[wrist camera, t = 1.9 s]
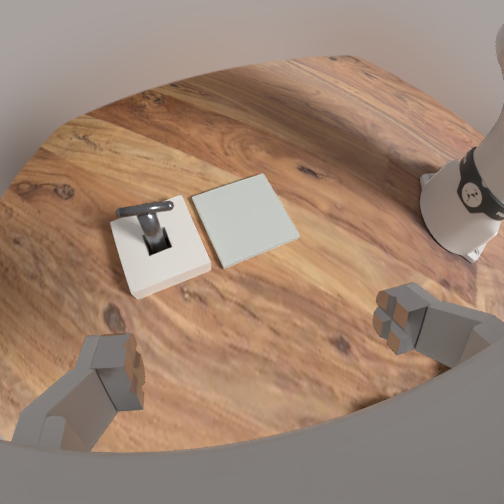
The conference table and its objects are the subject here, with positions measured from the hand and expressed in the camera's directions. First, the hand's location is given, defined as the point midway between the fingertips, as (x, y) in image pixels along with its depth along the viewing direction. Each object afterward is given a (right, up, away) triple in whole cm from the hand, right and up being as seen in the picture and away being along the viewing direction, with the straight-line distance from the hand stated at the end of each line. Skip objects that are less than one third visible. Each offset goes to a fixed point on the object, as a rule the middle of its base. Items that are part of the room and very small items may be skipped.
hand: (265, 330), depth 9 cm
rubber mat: (-1, +7, +32) cm, 32 cm away
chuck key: (-12, +3, +29) cm, 31 cm away
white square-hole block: (-12, +3, +29) cm, 31 cm away
